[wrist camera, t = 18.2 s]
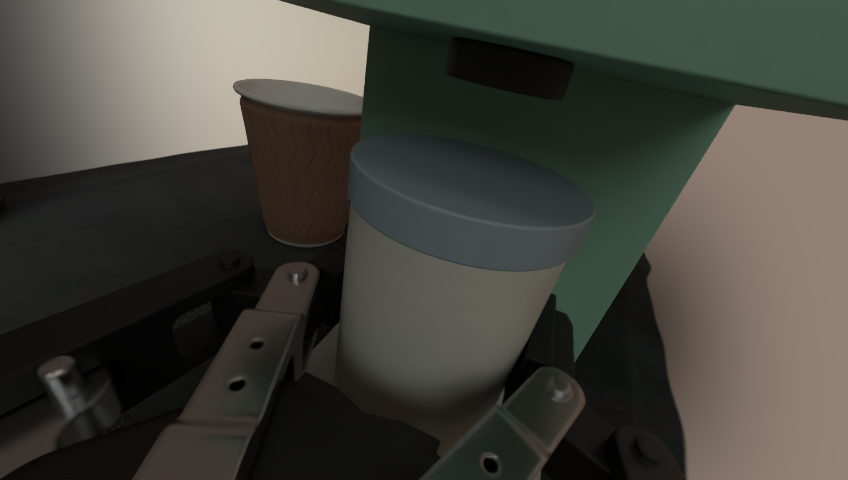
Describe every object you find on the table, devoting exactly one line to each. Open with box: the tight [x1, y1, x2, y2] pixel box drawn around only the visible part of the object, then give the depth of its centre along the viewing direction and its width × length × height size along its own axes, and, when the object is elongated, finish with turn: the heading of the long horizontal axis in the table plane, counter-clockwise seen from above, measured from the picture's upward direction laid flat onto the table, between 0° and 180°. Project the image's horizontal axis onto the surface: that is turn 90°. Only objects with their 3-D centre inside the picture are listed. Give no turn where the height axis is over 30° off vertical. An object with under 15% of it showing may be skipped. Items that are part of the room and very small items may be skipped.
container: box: [333, 134, 595, 457], centre depth 11 cm, size 6×6×11 cm
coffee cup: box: [233, 79, 363, 247], centre depth 28 cm, size 10×10×12 cm
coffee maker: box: [280, 0, 848, 480], centre depth 11 cm, size 9×13×21 cm
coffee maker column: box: [359, 26, 736, 393], centre depth 17 cm, size 6×13×21 cm, turn 69°
